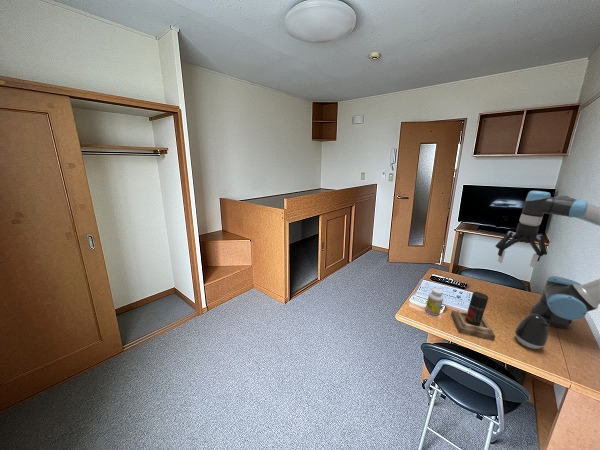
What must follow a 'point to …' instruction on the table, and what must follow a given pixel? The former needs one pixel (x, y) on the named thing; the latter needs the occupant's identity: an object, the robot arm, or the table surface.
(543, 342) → the black rounded dome
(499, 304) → the table surface
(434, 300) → the supplement bottle
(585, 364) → the table surface
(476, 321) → the deodorant
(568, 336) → the table surface
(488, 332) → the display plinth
